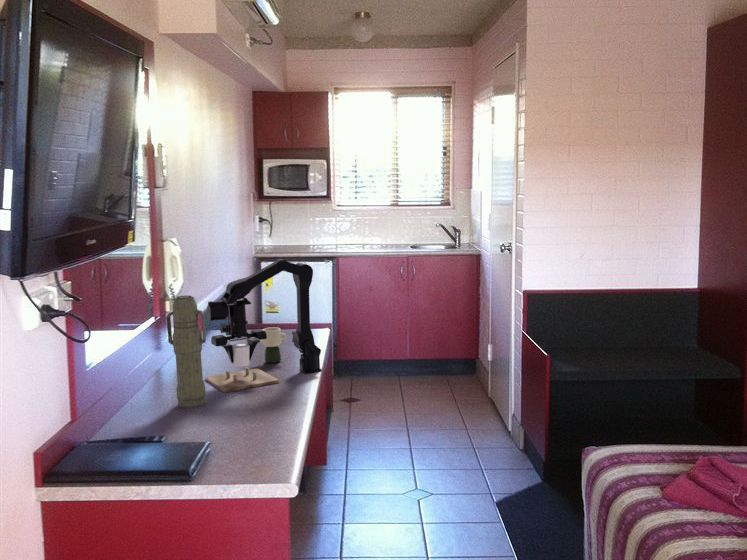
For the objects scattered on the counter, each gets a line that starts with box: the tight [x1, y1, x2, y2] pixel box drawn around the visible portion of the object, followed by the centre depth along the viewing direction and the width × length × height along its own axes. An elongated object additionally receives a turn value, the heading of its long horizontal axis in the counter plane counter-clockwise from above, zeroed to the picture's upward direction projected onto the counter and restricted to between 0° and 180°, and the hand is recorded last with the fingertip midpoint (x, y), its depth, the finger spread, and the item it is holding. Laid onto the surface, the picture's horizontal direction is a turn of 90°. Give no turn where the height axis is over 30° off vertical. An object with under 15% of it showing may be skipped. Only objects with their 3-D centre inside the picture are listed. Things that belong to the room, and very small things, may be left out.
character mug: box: [258, 326, 287, 363], centre depth 302 cm, size 11×7×13 cm, turn 92°
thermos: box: [165, 295, 207, 409], centre depth 250 cm, size 9×12×35 cm
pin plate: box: [204, 367, 280, 393], centre depth 277 cm, size 20×20×4 cm
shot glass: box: [231, 343, 250, 368], centre depth 276 cm, size 7×7×7 cm
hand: (240, 361), depth 276 cm, fingers closed on shot glass, 6 cm apart
